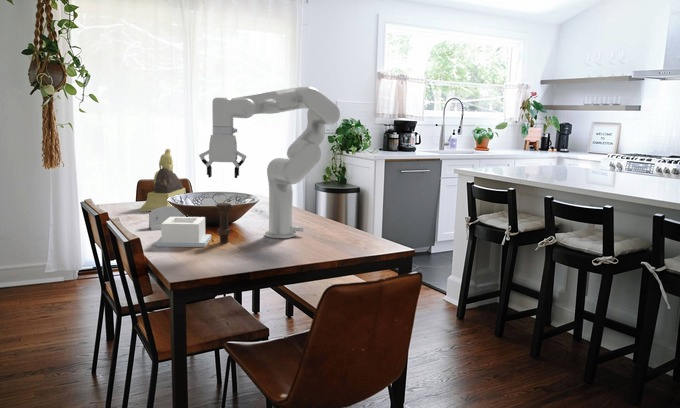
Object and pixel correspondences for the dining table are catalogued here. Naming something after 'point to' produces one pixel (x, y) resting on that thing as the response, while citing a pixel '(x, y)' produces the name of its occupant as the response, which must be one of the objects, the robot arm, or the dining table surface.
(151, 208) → the yellow and brown statue
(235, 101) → the robot arm
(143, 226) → the dining table surface
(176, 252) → the dining table surface
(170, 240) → the socket post
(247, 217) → the dining table surface
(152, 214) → the grey arched bracket
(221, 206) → the bolt
